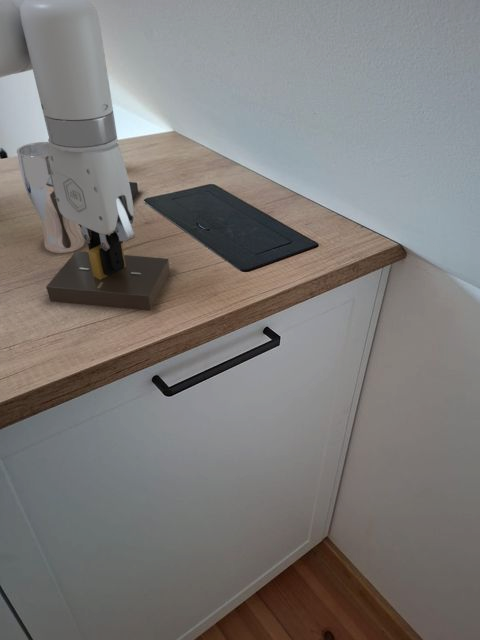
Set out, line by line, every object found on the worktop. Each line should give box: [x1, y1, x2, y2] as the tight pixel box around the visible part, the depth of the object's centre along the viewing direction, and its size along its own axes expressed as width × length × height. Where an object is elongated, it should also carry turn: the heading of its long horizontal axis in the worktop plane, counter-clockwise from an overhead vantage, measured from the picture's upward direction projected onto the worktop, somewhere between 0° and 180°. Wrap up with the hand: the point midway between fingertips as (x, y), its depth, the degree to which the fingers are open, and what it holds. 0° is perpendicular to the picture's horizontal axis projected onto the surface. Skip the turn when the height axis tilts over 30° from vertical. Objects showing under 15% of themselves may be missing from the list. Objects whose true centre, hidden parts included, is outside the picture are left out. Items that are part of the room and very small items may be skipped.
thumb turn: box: [87, 243, 126, 280], centre depth 67 cm, size 5×1×4 cm, turn 143°
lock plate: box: [45, 250, 171, 312], centre depth 69 cm, size 14×10×3 cm
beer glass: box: [16, 141, 86, 254], centre depth 74 cm, size 7×7×15 cm
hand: (109, 268), depth 68 cm, fingers closed
